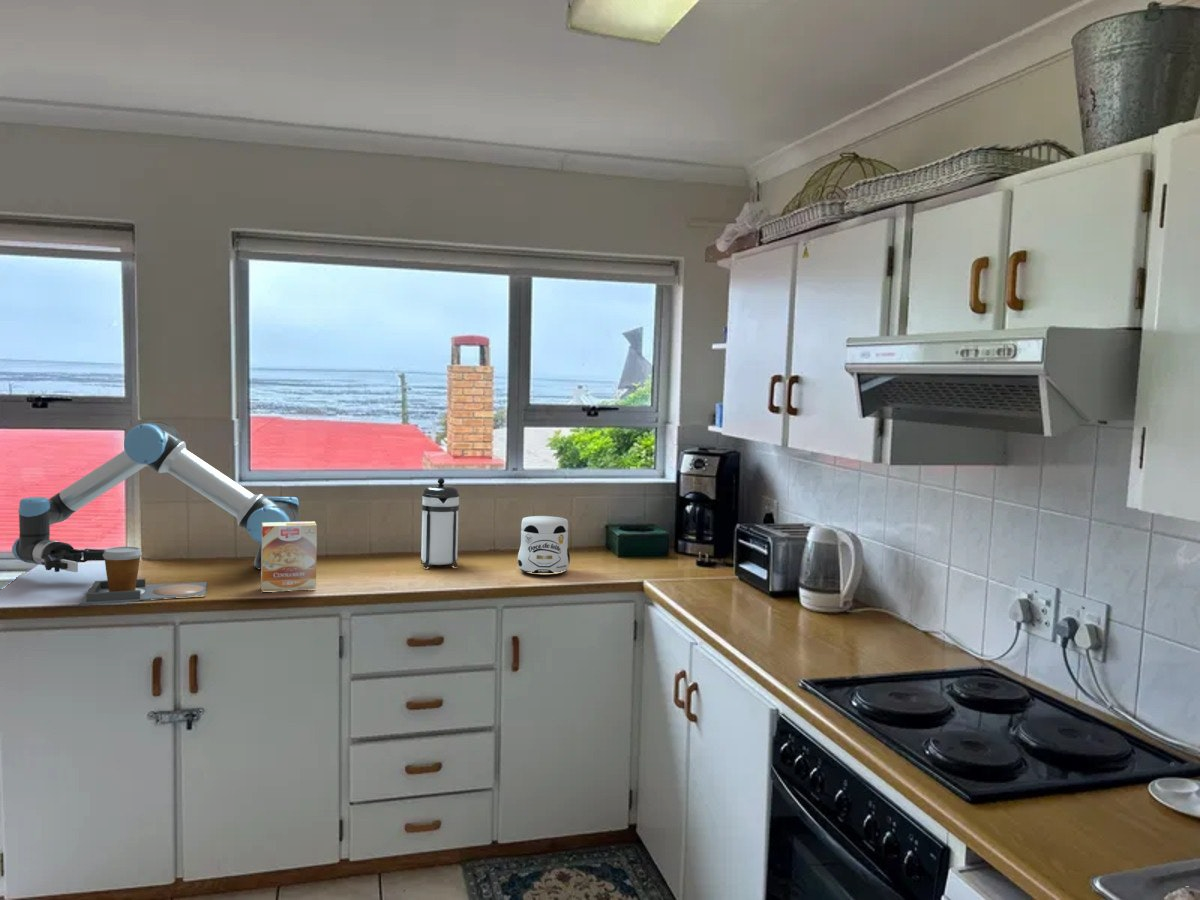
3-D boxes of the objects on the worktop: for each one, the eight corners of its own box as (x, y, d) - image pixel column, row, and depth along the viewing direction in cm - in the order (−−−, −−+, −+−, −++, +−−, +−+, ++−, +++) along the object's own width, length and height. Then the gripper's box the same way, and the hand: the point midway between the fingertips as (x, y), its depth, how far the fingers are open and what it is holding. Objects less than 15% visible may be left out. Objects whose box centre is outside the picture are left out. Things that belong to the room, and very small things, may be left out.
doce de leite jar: (538, 580, 271) (540, 525, 269) (506, 571, 284) (508, 517, 282) (579, 574, 282) (581, 521, 281) (547, 565, 295) (549, 514, 294)
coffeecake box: (261, 593, 242) (262, 525, 241) (260, 588, 248) (261, 521, 247) (316, 590, 248) (317, 524, 247) (314, 585, 255) (315, 520, 253)
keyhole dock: (206, 583, 251) (206, 575, 251) (205, 597, 235) (205, 588, 235) (89, 590, 239) (89, 580, 239) (79, 604, 223) (79, 594, 223)
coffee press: (472, 565, 291) (474, 478, 289) (440, 572, 277) (442, 481, 275) (435, 558, 300) (437, 473, 298) (402, 565, 287) (403, 476, 285)
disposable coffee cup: (124, 597, 229) (124, 553, 228) (93, 594, 231) (94, 551, 230) (149, 590, 239) (150, 547, 238) (120, 587, 240) (120, 545, 240)
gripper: (96, 560, 259) (141, 568, 250) (9, 574, 237) (55, 584, 228) (96, 535, 259) (141, 543, 249) (8, 547, 236) (55, 556, 227)
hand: (100, 563), depth 238 cm, fingers open, 13 cm apart
